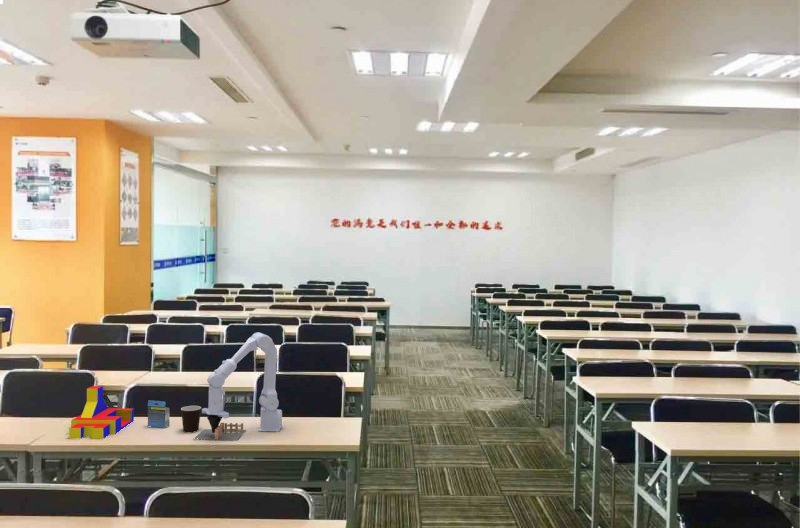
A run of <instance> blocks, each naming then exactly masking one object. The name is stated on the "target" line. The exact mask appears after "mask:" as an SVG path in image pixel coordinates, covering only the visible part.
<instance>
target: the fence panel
mask: <svg viewBox="0 0 800 528" xmlns="http://www.w3.org/2000/svg"><path fill="white" fill-rule="evenodd" d="M222 431H223V424H220V423H219V426H218V427H217V429H215V439H218V437H219V435H221V434H222Z"/></svg>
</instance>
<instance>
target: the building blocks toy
mask: <svg viewBox="0 0 800 528" xmlns="http://www.w3.org/2000/svg"><path fill="white" fill-rule="evenodd" d="M134 418H135V408H133V407H132V408H131V407H130V408H129V407H128V408H121V407H119V408H118V407H117V408H116V407H113V408H112V407H110V408H109V407H108V406H107V403H106V401H105V399H104V386H103V385H92V386H90V387H87V388H86V402H85V405H84V408H83V411H82V413H81V414H80V415H78V416H76V417H74V418H72V419H70V427H68V428H69V429H68V430H69V436H68V437H69V438H81V439H83V438H84V437H83V436H90V437H89V438H91V439H92V440H104V439H105V438H107V437H108V436H110V435H109V434H115V435H117V434H118V433H119V431H120V430H121V429H123V428H124V427H125V428H127V427H128V426H129V425H128V424H130V423H131V422H133V421H134V422H135V419H134ZM134 422H133V423H134ZM131 424H132V423H131ZM131 424H130V425H131ZM127 425H128V426H127ZM126 426H127V427H126ZM125 428H124V429H125ZM124 429H123V430H124ZM121 431H122V430H121ZM121 431H120V432H121ZM117 432H118V433H117ZM116 433H117V434H116ZM106 436H107V437H106ZM82 437H83V438H82ZM103 438H104V439H103Z"/></svg>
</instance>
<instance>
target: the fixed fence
mask: <svg viewBox="0 0 800 528" xmlns="http://www.w3.org/2000/svg"><path fill="white" fill-rule="evenodd" d="M220 424H223V431H222V433H227V431H230V433H232V431H235V433H238V431H241V433H243V430H244V422H241V423H238V422H236V423H235V424H233V422H230V423H229V424H228V423H227V422H220V423H219V425H220Z"/></svg>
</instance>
